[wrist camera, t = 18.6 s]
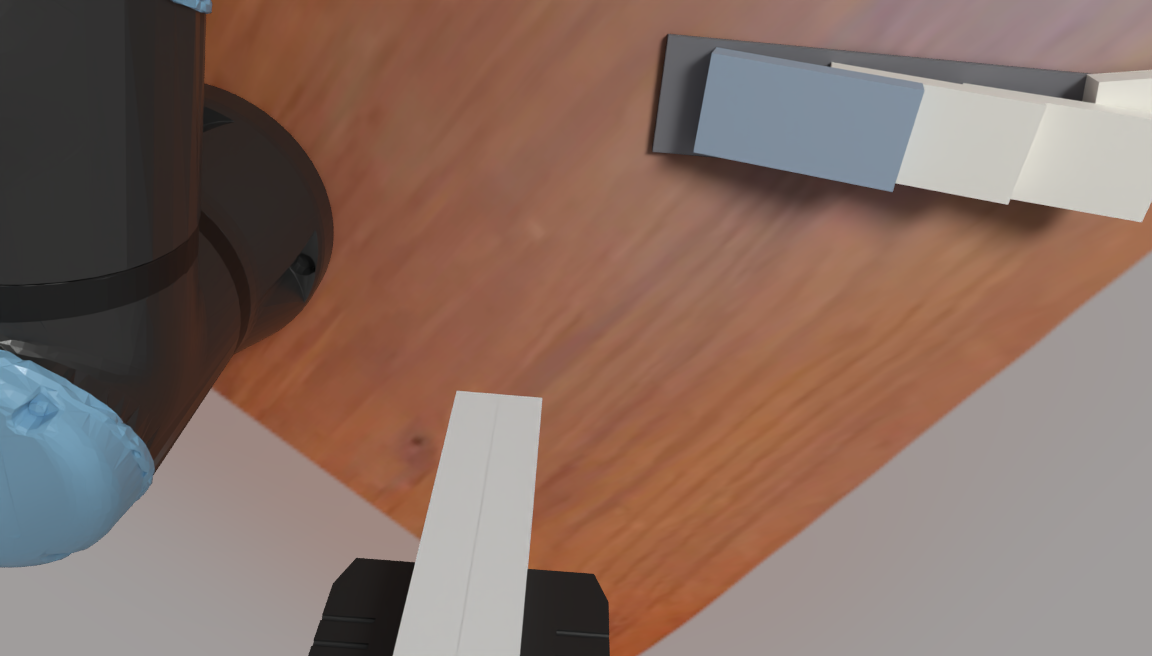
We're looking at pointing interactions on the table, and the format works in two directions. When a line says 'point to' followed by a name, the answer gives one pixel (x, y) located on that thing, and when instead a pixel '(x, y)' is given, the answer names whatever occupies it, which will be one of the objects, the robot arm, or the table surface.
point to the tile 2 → (967, 138)
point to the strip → (693, 56)
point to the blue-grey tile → (807, 118)
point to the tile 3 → (1089, 159)
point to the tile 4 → (1120, 89)
